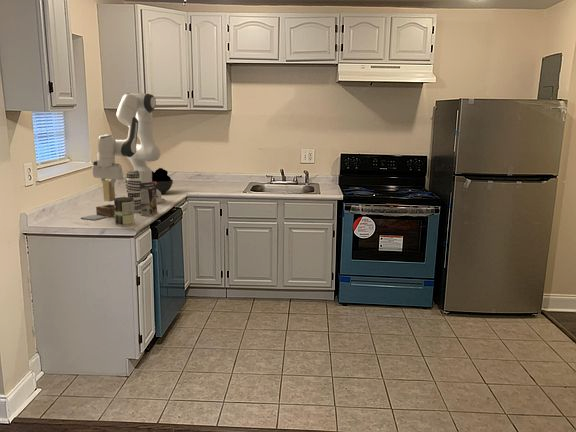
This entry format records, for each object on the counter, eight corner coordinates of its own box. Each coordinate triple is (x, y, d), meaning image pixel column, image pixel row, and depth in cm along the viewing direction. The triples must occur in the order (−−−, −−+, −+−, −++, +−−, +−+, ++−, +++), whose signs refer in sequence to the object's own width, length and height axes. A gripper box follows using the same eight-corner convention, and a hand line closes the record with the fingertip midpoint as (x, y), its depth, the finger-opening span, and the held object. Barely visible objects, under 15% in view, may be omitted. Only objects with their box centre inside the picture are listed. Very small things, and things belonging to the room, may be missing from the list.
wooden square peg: (109, 199, 304) (108, 179, 302) (115, 200, 302) (113, 180, 300) (104, 200, 300) (102, 180, 298) (109, 201, 298) (108, 181, 296)
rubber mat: (94, 215, 299) (94, 214, 299) (107, 217, 295) (107, 216, 294) (80, 218, 290) (80, 217, 290) (93, 220, 286) (93, 219, 286)
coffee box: (151, 216, 300) (150, 189, 296) (141, 215, 301) (139, 188, 297) (157, 213, 309) (156, 186, 305) (147, 212, 310) (146, 186, 306)
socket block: (109, 212, 310) (109, 203, 309) (123, 213, 305) (122, 205, 304) (96, 215, 300) (96, 206, 299) (110, 216, 296) (109, 208, 295)
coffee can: (113, 226, 273) (111, 200, 270) (117, 222, 283) (116, 197, 280) (132, 226, 274) (131, 200, 271) (136, 221, 284) (135, 197, 281)
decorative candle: (124, 211, 311) (122, 171, 306) (131, 208, 320) (129, 169, 315) (138, 212, 310) (136, 171, 305) (144, 209, 319) (143, 169, 314)
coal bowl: (175, 191, 390) (174, 167, 386) (170, 195, 370) (170, 170, 366) (148, 191, 388) (147, 166, 385) (142, 195, 369) (141, 169, 365)
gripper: (124, 163, 295) (126, 186, 298) (98, 161, 303) (100, 184, 306) (116, 164, 289) (118, 188, 292) (90, 162, 298) (91, 185, 301)
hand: (108, 186), depth 299 cm, fingers closed on wooden square peg, 4 cm apart
